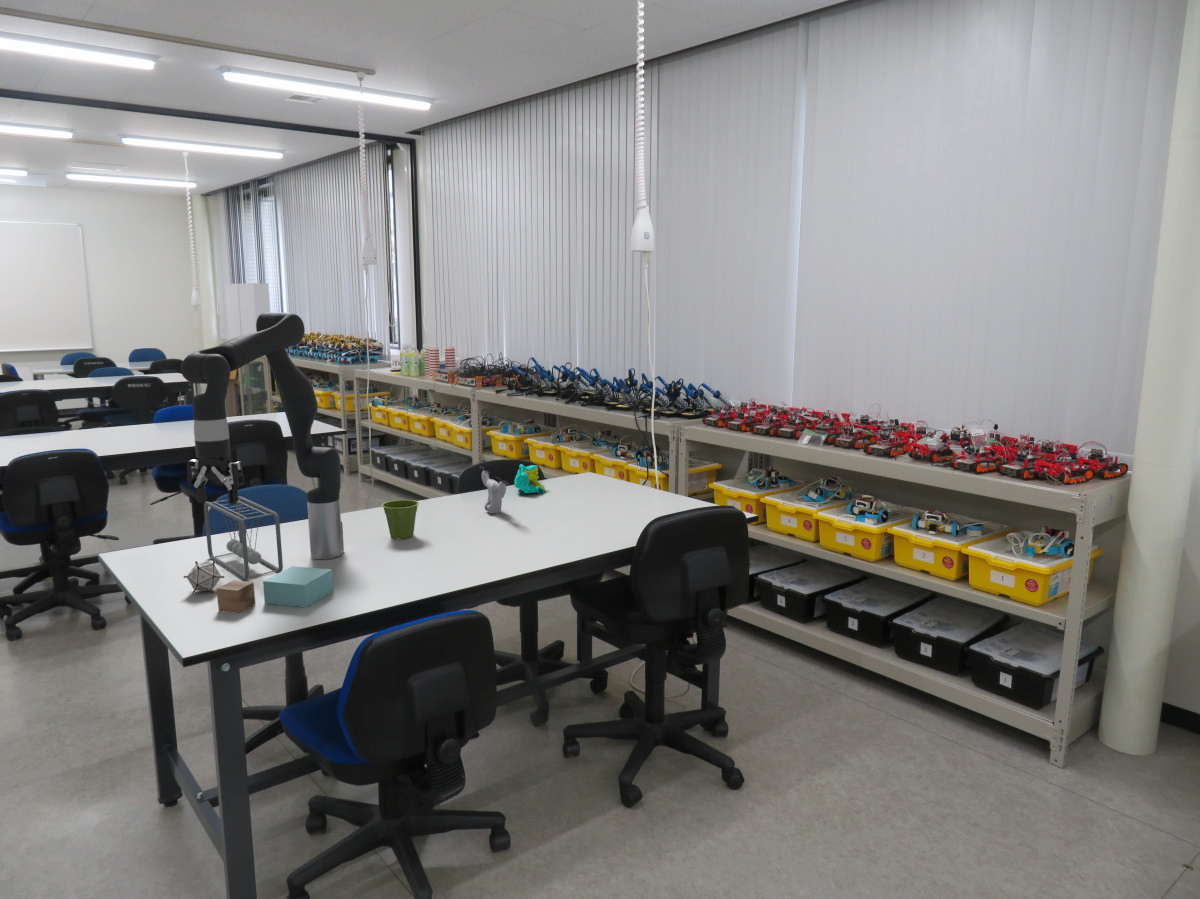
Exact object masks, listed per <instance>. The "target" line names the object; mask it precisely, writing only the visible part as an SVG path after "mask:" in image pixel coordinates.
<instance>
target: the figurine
mask: <svg viewBox="0 0 1200 899" xmlns="http://www.w3.org/2000/svg"><path fill="white" fill-rule="evenodd" d="M478 467H479V469H480V470H482V472H481V480H482V483H483V486H484V487H486V488H487V501H486V502H485V504H484V510H485V511H486V512H488V514H491V513H497V514H500V513H501V511H502V507H503V506H502V501H503V498H504V497H505V494H506V492H507V486H509V485H510V483H509V482H508V481H506V480H504V478H503V477H501V478H499V477H498V476H496V475H495V478H496V479H498V480H499V482H498V481H496V480H495V479H494V478H490V475H489V474H491V471H489V470H487V468H486V467H484V466H483V465H478ZM499 512H500V513H499ZM491 515H492V514H491Z"/></svg>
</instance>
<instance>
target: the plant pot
mask: <svg viewBox="0 0 1200 899" xmlns="http://www.w3.org/2000/svg"><path fill="white" fill-rule="evenodd" d="M419 505H420V502H419V501H417V500H413V499H395V500H389V501H385V502H383V503H382V504H381V507H382V508H383V511H384V514H385V516H386V522H387V526H388V531H389V534H390V539H393V540H402V541H403V540H406V539H409V540H410V539H411V538H412V537H413V536H414V534H415V533H414V532H415V524H416V516H417V511H418V507H419Z"/></svg>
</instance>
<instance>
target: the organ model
mask: <svg viewBox="0 0 1200 899" xmlns="http://www.w3.org/2000/svg"><path fill="white" fill-rule="evenodd" d="M538 471H539V468H538V465H536V464H535V465H534V464H532V465H529V466H525V465H524V464H523V463H522V464H519V468H518V470H517V473H516V476H515V478H514V487H515V488H516V489H518V490H520V491H522V492H524V493H525V494H532V493H533V494H534V493H535V494H536V493H537V494H541V493H543V494H544V492H545V493H546V492H547V490H546V488H545V485H544V484H542V483H541V482H539V481H538V479H539V478H540V476H539V472H538Z"/></svg>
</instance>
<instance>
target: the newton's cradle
mask: <svg viewBox="0 0 1200 899" xmlns="http://www.w3.org/2000/svg"><path fill="white" fill-rule="evenodd" d="M223 502H228V499H223V500H222V499H221V500H217V501H206V502H203V503H204V504H203V510H204V521H205V524H204V525H205V532H206V533H205V534H206V544H207V553H208V557H209V559H211V560H212V559H213V560H212V561H216V563H217V564H218V563H219V565H220V566H221V565H222V567H223V568H225V569H226V568H227V569H226V570H227V571H229V570H230V572H231V573H232V572H233V573H232V574H234V575H235V574H236V575H235V576H237V577H238V578H240V579H242V580H243V579H244V580H243V581H247V580H249V579H250V578H255V577H259V576H263V575H267V574H271V573H280V572H281V571H283V570H284V569H283V568H284V563H283V552H282V550H283V549H282V548H283V547H282V536H281V535H282V534H281V524H280V516H279V515H278V513H277V512H276V511H274V510H272V509H270V508H267V507H265V506H263V505H261V504H259V503H256V502H254V501H252V500H250V499H247V498H245V497H244V496H240V495H238V501H237V503H236V504H235V505H236V509H235V508H233V509H230V508H229V507H226V506H227V505H228V504H227V503H226V504H224V505H223V504H220V503H223ZM235 505H234V506H233V505H232V506H231V508H232V507H235ZM245 506H247V507H245ZM209 508H211V509H213V510H215V511H218V512H219V513H221V514H222V515H223V516H224V520H225V522H226V526H227V529H228V532H229V536H230V540H228V541H227V543H226V549H227V551H229V552H228V553H224V554H219V555H214V554H213V547H212V546H213V545H212V535H211V526H210V525H211V524H210V513H209V512H210V511H209ZM246 508H248V509H247V510H246V512H247V513H249V511H250V509H251V510H252V511H253V512H250V513H249V514H250V515H251V514H252V516H250V517H249V515H247V514H244V511H245V510H244V509H246ZM235 510H236V511H235ZM256 513H261V515H260V514H259V515H256V516H254V515H255V514H256ZM244 515H245V516H244ZM246 515H247V516H246ZM226 516H227V517H228V518H229V522H230V525H231V528H232V531H233V535H234V536H233V538H232V534H231V531H230V528H229V525H228V520H227V517H226ZM267 516H273V518H274V522H275V523H274V524H275V535H276V536H275V538H276V548H277V550H276V552H277V564H278V566H276V565H275V564H273V563H271V562H269V561H267V560H266V559H264V558H262V555H261V553H260V552H259V551H257V550H256V549H253V548H252V545H251V542H252V536H250V537H249V534H248V530H247V527H248V524H246V523H245V520H246V522H248V520H252V521H251V526H253V524H254V519H256V518H257V522H259V520H260V518H261V517H267ZM232 519H233V522H234V524H235V527H233V524H232ZM258 528H259V523H257V527H256V531H258V530H259V529H258ZM236 532H237V535H238V539H239V540H237V538H236ZM255 533H256V535H255V539H257V538H258V532H255ZM252 534H253V527H251V530H250V535H252ZM247 539H248V540H247ZM247 541H248V542H247ZM247 543H248V544H249V546H248V544H247ZM256 544H257V541H255V543H254V548H257V547H256ZM233 554H234V555H235V556H238V557H239V558H241V559H243V569H244V570H243V571H244V574H243V573H242V572H240V571H238V570H237V569H236V568H234V567H233V566H230V565H229V564H227V563H226V562H225V561H223V560H221V559H220V558H219V557H224V556H230V555H233ZM261 562H262V563H261ZM259 563H261V564H263V565H264V564H265V566H266V565H267V566H266V567H268V568H270V569H271V568H272V569H271V570H272V571H267V572H263V573H258V574H254V575H250V567H249V566H250V565H249V564H251V565H257V564H259Z"/></svg>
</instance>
